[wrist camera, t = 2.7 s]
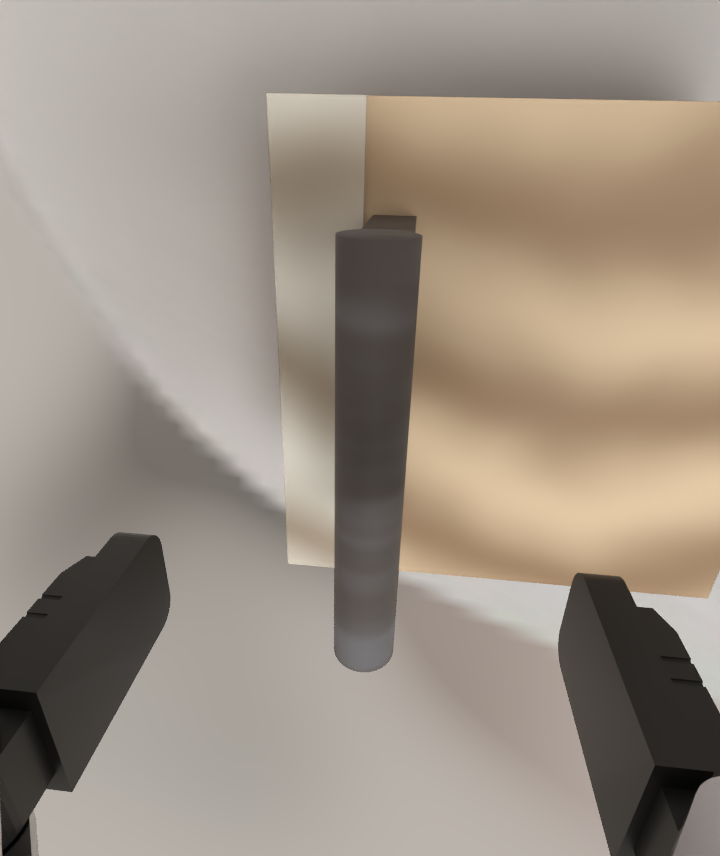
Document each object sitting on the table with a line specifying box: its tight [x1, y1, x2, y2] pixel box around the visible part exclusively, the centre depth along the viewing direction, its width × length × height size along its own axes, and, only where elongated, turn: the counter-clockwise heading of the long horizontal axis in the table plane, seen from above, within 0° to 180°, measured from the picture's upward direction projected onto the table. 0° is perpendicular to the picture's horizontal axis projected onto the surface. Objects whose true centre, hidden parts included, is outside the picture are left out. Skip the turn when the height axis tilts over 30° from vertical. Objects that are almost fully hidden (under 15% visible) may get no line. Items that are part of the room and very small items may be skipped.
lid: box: [266, 93, 720, 672], centre depth 17 cm, size 18×18×9 cm
